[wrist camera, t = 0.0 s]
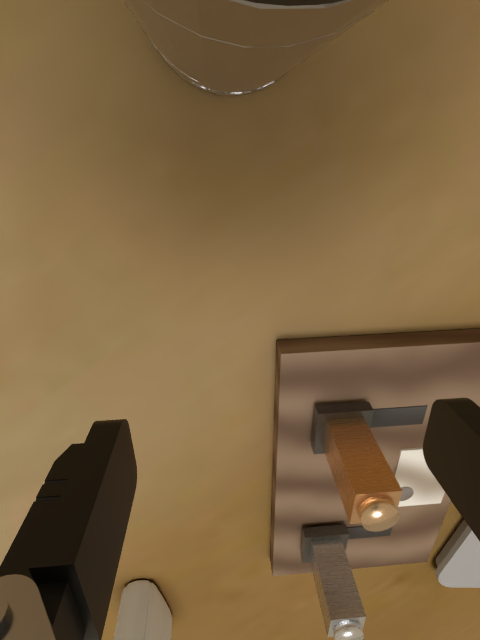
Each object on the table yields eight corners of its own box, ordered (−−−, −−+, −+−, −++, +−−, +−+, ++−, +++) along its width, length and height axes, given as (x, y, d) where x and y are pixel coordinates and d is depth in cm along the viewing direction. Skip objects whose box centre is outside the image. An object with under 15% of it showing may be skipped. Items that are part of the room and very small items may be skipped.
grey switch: (302, 527, 36) (325, 628, 29) (345, 524, 37) (379, 623, 29) (300, 553, 38) (321, 653, 31) (340, 549, 39) (371, 647, 31)
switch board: (276, 340, 28) (281, 356, 26) (495, 327, 29) (516, 342, 27) (269, 557, 43) (272, 579, 41) (418, 544, 44) (428, 564, 42)
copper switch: (314, 405, 29) (350, 499, 21) (368, 401, 29) (422, 494, 22) (310, 444, 31) (342, 543, 24) (361, 441, 31) (407, 537, 24)
